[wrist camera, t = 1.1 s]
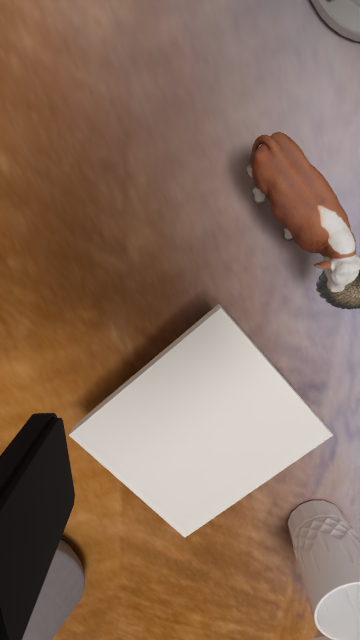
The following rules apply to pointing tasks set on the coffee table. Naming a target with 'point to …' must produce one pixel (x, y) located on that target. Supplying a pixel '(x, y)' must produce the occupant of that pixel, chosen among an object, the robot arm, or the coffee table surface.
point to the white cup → (328, 567)
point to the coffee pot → (57, 595)
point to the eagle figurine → (341, 293)
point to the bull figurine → (304, 206)
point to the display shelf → (201, 424)
